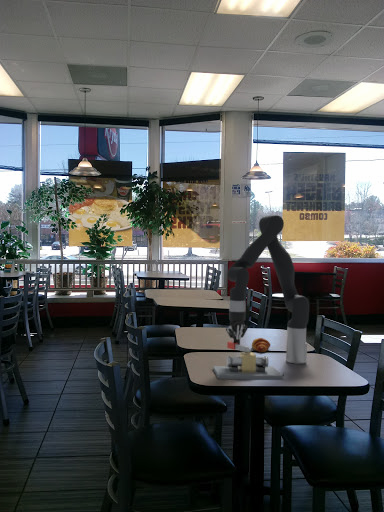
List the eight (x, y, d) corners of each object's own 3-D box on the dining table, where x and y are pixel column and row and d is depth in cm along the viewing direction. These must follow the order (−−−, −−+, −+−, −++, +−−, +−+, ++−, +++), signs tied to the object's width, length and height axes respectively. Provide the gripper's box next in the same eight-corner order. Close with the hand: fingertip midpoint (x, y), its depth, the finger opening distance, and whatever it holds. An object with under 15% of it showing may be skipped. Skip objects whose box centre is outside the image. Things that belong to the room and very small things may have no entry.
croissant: (254, 351, 266) (248, 338, 266) (270, 343, 265) (264, 331, 266) (256, 358, 245) (250, 345, 245) (273, 351, 244) (267, 337, 245)
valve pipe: (264, 369, 206) (265, 352, 206) (268, 372, 200) (269, 355, 200) (226, 368, 204) (226, 352, 204) (228, 372, 198) (229, 355, 198)
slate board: (273, 369, 211) (273, 366, 211) (282, 379, 196) (282, 375, 196) (213, 369, 208) (213, 366, 208) (218, 378, 193) (218, 375, 193)
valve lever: (251, 353, 202) (252, 346, 202) (247, 353, 200) (247, 347, 200) (231, 347, 213) (231, 341, 213) (226, 347, 211) (227, 341, 211)
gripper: (241, 308, 219) (240, 343, 220) (221, 310, 211) (220, 347, 211) (253, 309, 214) (252, 346, 214) (233, 312, 205) (232, 350, 205)
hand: (236, 347), depth 213 cm, fingers closed
